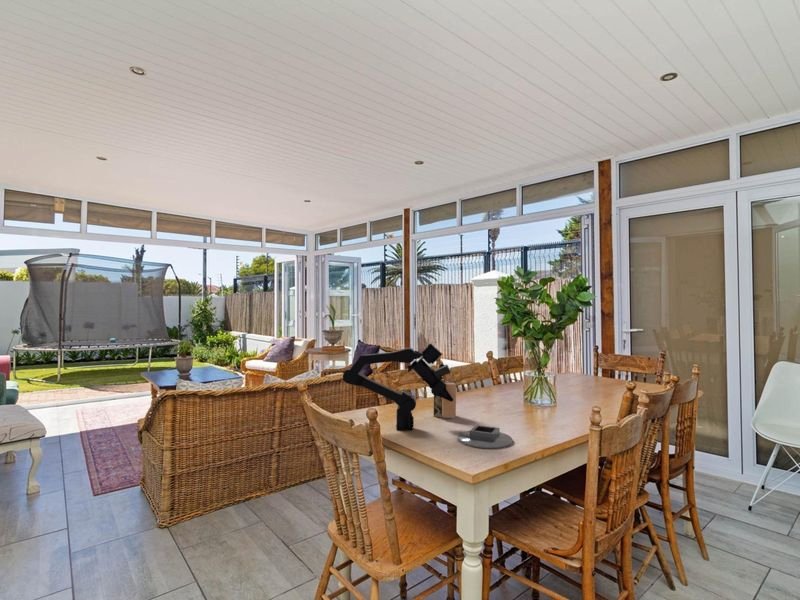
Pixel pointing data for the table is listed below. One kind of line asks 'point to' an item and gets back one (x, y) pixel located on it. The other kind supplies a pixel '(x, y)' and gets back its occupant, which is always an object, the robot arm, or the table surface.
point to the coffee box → (439, 403)
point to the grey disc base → (485, 438)
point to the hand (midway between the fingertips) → (452, 399)
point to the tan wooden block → (449, 402)
